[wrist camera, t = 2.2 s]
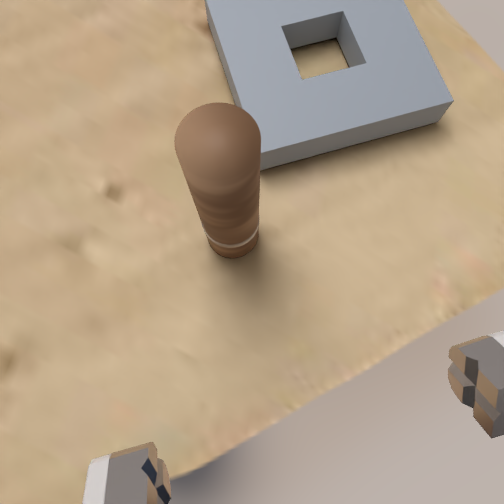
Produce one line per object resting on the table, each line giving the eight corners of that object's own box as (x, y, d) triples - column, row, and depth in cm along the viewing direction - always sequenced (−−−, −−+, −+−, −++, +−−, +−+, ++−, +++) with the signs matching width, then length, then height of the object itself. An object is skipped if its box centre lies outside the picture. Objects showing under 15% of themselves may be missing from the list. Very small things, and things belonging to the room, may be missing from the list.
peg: (214, 264, 27) (185, 190, 16) (201, 217, 28) (164, 114, 17) (265, 249, 28) (273, 167, 16) (250, 203, 29) (247, 92, 17)
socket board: (257, 171, 29) (258, 153, 27) (207, 20, 33) (203, -8, 30) (437, 121, 30) (453, 100, 28) (369, -20, 34) (378, -49, 31)
